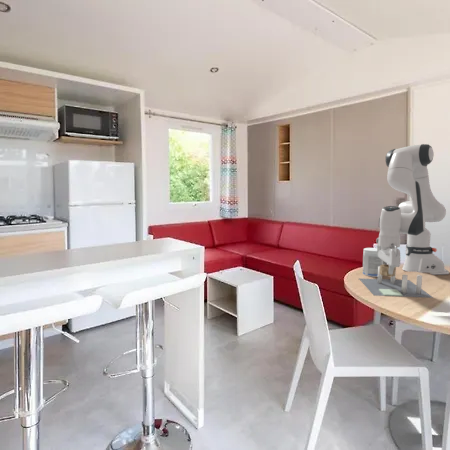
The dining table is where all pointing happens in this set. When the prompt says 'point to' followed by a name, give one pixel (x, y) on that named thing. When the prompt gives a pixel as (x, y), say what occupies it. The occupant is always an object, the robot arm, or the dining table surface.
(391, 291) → the pad
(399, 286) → the board
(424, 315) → the dining table surface
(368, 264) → the supplement tub
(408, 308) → the dining table surface
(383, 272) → the ring
